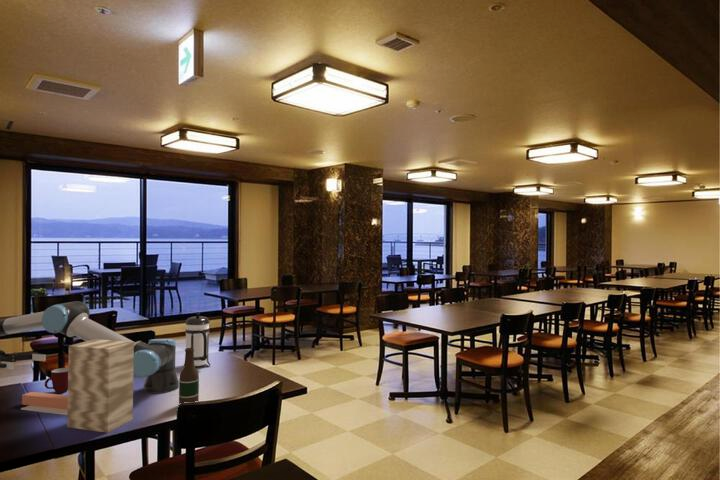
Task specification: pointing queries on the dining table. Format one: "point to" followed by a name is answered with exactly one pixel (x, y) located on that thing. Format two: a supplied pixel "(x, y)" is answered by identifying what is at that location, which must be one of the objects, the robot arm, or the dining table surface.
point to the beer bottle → (189, 379)
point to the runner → (46, 410)
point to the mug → (59, 380)
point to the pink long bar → (45, 400)
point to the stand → (100, 385)
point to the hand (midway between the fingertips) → (30, 361)
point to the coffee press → (198, 338)
